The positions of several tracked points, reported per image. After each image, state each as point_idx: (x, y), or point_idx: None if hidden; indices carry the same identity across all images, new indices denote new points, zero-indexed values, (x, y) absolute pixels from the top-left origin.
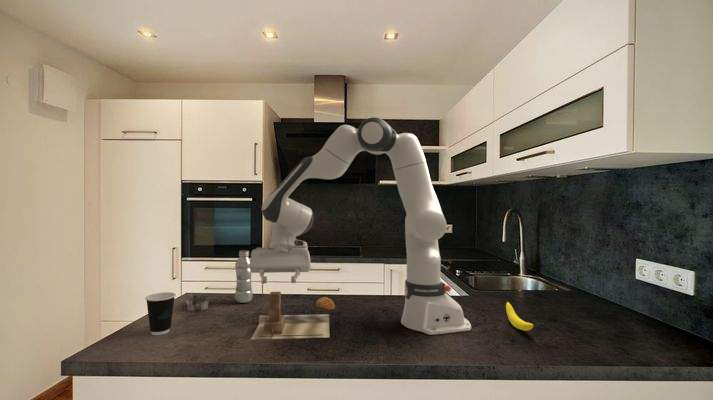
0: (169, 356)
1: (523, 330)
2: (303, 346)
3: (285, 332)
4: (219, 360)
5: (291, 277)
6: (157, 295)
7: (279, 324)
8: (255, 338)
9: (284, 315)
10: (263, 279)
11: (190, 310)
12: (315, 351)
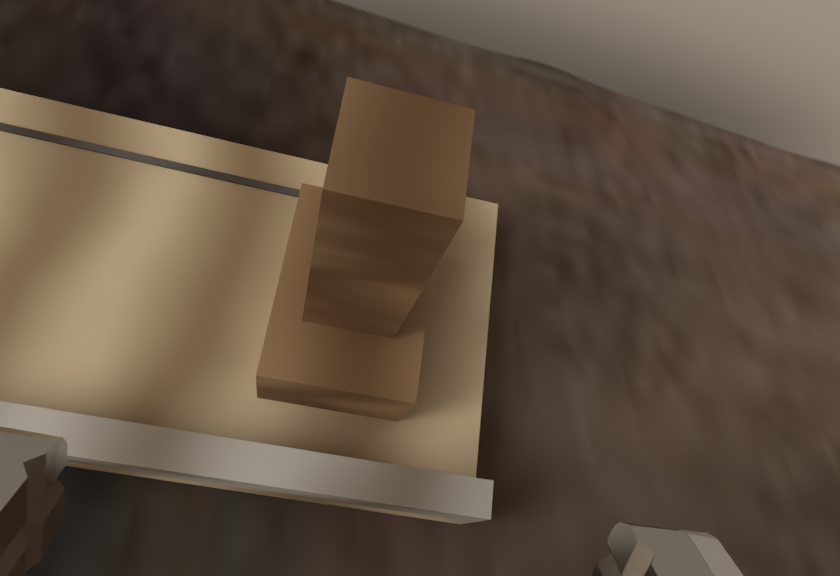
0: (835, 209)
1: None
2: (165, 107)
3: (266, 243)
4: (606, 104)
5: (17, 480)
6: None
7: (319, 189)
8: (472, 207)
9: (256, 374)
10: (685, 544)
11: None
12: (107, 31)
